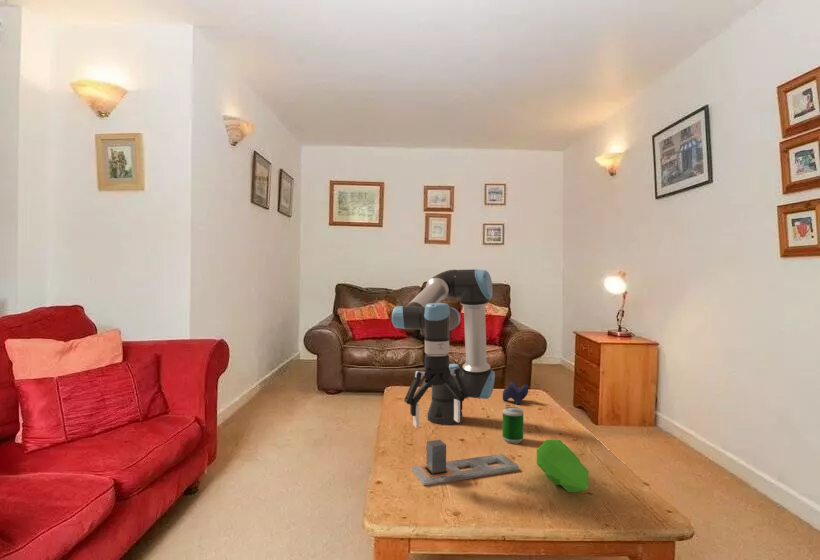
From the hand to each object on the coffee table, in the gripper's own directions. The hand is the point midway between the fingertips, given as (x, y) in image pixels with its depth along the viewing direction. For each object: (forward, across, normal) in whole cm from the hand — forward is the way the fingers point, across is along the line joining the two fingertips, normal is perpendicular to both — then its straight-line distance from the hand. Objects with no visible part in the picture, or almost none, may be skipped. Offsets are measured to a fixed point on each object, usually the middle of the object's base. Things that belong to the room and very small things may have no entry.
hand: (436, 423), depth 135 cm
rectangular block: (+16, 0, -1) cm, 16 cm away
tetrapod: (+18, +70, +62) cm, 95 cm away
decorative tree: (+16, +32, -18) cm, 40 cm away
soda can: (+17, +38, +18) cm, 45 cm away
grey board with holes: (+16, +10, 0) cm, 18 cm away
